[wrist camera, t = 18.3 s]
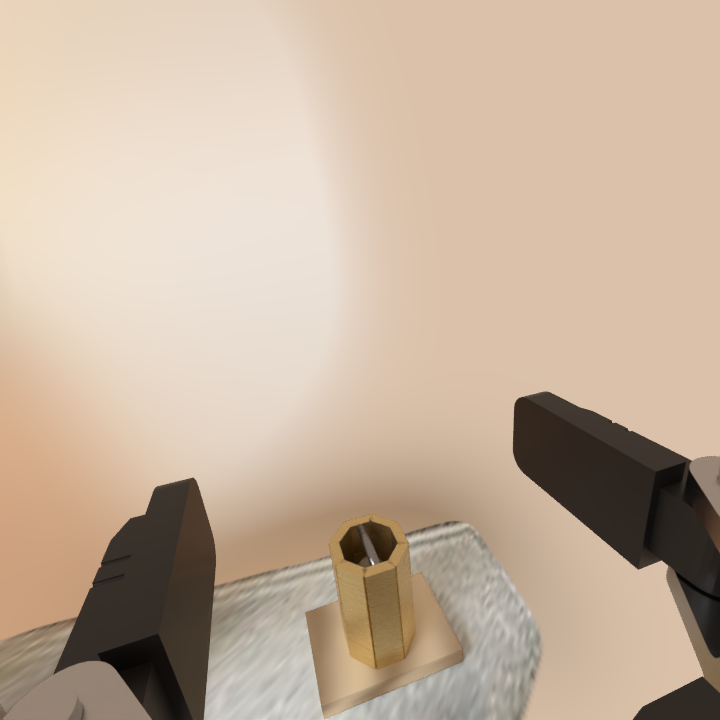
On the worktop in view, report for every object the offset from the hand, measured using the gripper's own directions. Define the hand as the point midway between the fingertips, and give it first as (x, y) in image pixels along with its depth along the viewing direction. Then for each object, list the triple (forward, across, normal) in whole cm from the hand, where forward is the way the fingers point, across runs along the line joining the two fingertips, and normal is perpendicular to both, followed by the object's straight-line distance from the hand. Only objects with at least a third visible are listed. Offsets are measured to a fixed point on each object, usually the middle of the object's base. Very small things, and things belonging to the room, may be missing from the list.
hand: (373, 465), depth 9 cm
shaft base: (+16, -3, +30) cm, 34 cm away
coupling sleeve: (+16, -3, +28) cm, 33 cm away
